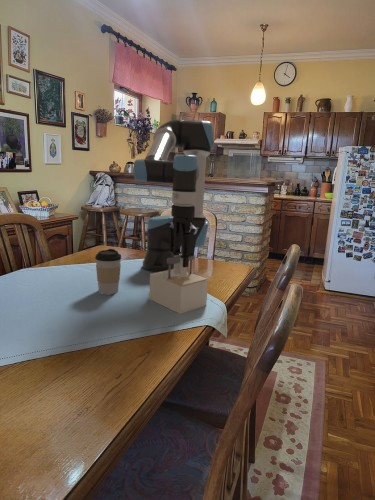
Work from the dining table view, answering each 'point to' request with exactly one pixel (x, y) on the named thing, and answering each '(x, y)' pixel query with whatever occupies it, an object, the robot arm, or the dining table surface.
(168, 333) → the dining table surface
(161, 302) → the carton
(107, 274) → the coffee cup
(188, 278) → the drawer with bar handle
